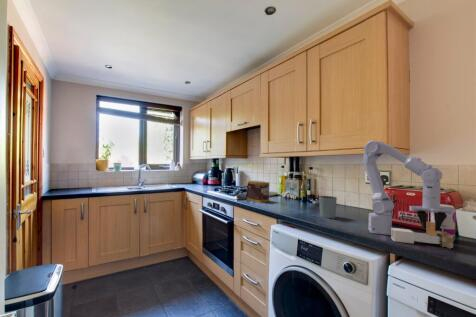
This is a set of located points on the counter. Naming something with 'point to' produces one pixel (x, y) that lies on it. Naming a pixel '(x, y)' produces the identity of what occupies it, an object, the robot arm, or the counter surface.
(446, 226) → the supplement can
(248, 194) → the supplement box
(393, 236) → the white rectangular block
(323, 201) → the grey tapered cup
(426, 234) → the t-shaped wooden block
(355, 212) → the counter surface
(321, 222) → the counter surface
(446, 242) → the oak socket
